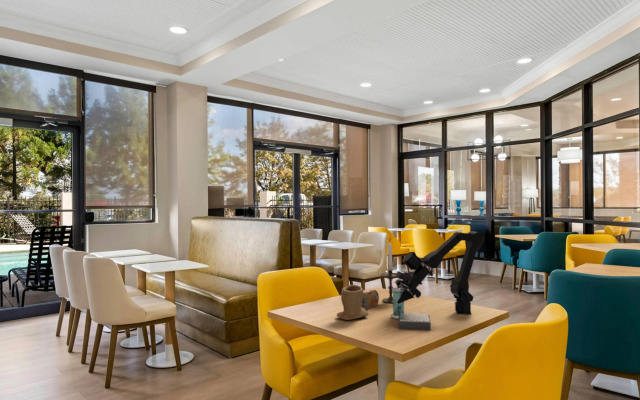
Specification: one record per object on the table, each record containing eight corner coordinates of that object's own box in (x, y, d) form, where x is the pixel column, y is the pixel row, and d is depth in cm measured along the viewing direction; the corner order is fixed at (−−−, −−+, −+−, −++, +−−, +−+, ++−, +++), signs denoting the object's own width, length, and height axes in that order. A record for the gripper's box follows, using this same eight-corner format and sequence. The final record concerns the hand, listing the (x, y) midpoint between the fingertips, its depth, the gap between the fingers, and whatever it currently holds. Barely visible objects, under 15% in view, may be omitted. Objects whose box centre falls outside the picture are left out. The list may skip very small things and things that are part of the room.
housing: (406, 315, 195) (405, 287, 195) (406, 319, 188) (405, 290, 189) (391, 314, 196) (391, 287, 197) (390, 318, 190) (390, 290, 190)
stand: (429, 321, 184) (429, 313, 184) (430, 330, 171) (430, 321, 172) (399, 320, 187) (399, 312, 187) (398, 328, 174) (398, 320, 174)
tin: (364, 311, 204) (364, 294, 204) (359, 310, 206) (358, 293, 206) (379, 305, 216) (379, 288, 216) (374, 304, 218) (374, 288, 218)
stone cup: (347, 323, 183) (347, 289, 183) (333, 317, 193) (332, 285, 193) (375, 318, 190) (374, 285, 191) (360, 313, 201) (359, 281, 201)
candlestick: (404, 303, 220) (403, 236, 220) (385, 304, 217) (383, 237, 218) (396, 298, 230) (395, 235, 231) (377, 300, 228) (376, 235, 228)
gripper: (398, 262, 203) (377, 286, 200) (414, 267, 184) (390, 294, 182) (413, 277, 204) (392, 301, 202) (430, 284, 186) (408, 311, 183)
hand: (395, 301), depth 192 cm, fingers closed on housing, 5 cm apart
